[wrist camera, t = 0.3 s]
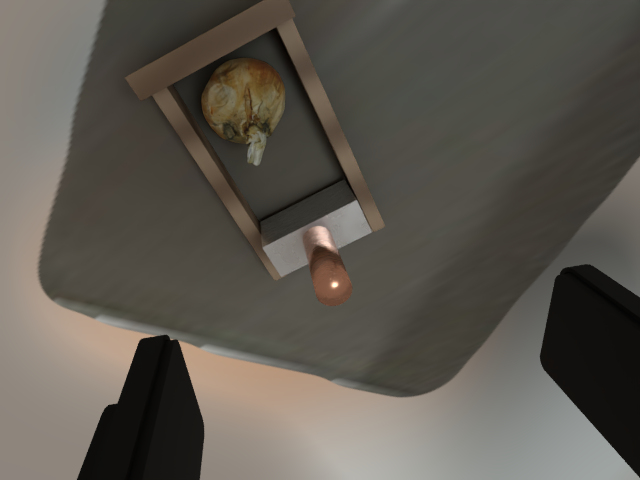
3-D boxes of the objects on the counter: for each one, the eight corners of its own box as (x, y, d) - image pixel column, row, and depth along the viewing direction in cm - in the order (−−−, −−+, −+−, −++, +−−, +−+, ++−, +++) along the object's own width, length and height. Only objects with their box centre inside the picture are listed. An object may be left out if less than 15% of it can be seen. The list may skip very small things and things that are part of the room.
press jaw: (260, 222, 47) (265, 301, 33) (344, 179, 46) (383, 243, 33) (277, 249, 48) (288, 334, 35) (358, 208, 48) (400, 280, 35)
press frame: (143, 68, 39) (124, 77, 33) (277, -7, 38) (283, -12, 31) (273, 267, 51) (277, 301, 45) (378, 215, 50) (396, 243, 43)
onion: (301, 91, 42) (312, 105, 35) (252, 152, 44) (253, 177, 37) (239, 35, 39) (237, 39, 32) (189, 104, 41) (177, 122, 34)
